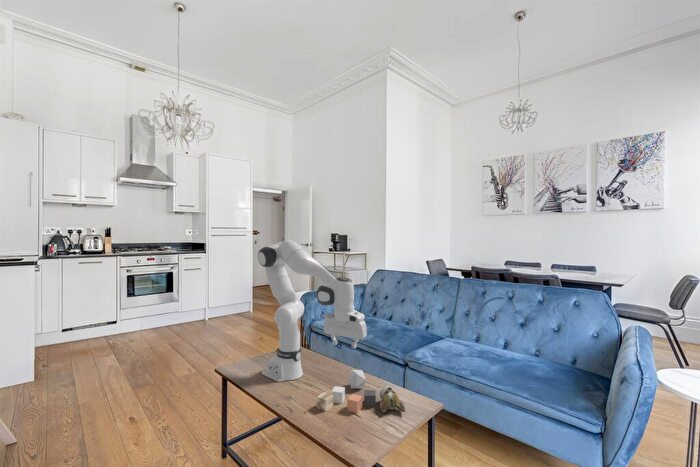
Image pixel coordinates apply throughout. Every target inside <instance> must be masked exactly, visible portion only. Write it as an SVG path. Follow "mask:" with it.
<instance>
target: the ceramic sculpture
mask: <svg viewBox="0 0 700 467" xmlns="http://www.w3.org/2000/svg"><path fill="white" fill-rule="evenodd" d="M379 398H380V399H381V401H380V402H379V409H380V411H381V412H382V413H386V412H387V411H388V410H395V409H397V411H399V412H406V409H405V404H404V401H402V400H401V399H399V396H398V394H397V392H396V391H395V389H394V388H393V387H392V386H391V385H389V383H387V382H386V383H385V385H384V386H383V387H382V388H381V390H380V392H379Z"/></svg>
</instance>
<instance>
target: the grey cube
mask: <svg viewBox="0 0 700 467" xmlns="http://www.w3.org/2000/svg"><path fill="white" fill-rule="evenodd" d="M331 395H333V404H335V403H336V404H343V403H344V401H345V399H346V387H344V386H336V385H335V386H334V387H333V388H332V390H331Z"/></svg>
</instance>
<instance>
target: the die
mask: <svg viewBox="0 0 700 467" xmlns="http://www.w3.org/2000/svg"><path fill="white" fill-rule="evenodd" d="M366 380H367V379H366V376H365V374H364V371H363V369H351V370H350V373H349V376H348V384H349V386H350V389H351V390H357V389H359V390H363V388H364V385H365V382H366Z"/></svg>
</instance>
